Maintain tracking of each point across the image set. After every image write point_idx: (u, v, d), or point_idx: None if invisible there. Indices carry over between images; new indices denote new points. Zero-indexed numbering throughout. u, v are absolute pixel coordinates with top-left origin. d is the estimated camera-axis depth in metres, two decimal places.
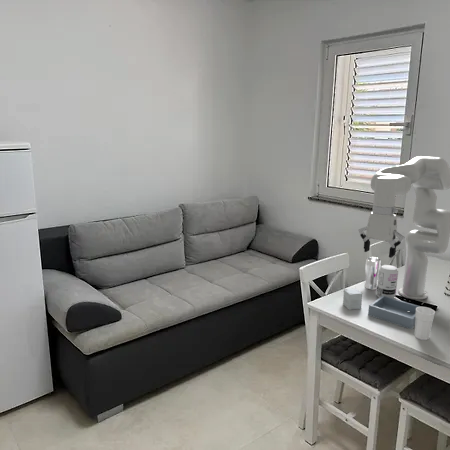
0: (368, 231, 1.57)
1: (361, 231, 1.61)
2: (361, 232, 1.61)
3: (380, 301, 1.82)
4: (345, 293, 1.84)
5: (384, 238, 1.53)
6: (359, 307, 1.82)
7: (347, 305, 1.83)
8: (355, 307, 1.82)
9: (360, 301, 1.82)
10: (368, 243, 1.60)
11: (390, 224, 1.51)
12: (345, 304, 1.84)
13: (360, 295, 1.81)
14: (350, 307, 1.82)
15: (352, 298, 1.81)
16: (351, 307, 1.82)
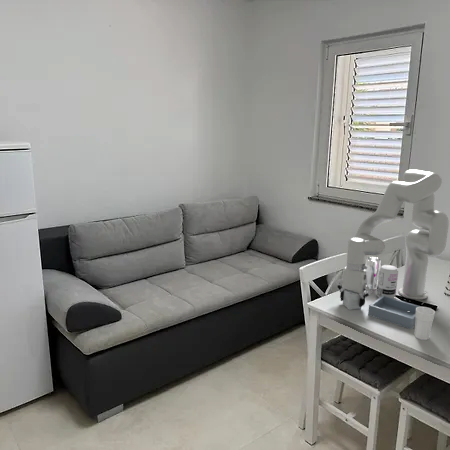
0: (343, 283, 1.84)
1: (338, 283, 1.87)
2: (338, 284, 1.87)
3: (380, 301, 1.82)
4: (345, 293, 1.84)
5: (356, 290, 1.80)
6: (359, 307, 1.82)
7: (347, 305, 1.83)
8: (355, 307, 1.82)
9: None
10: None
11: (360, 279, 1.77)
12: (345, 304, 1.84)
13: None
14: (350, 307, 1.82)
15: (352, 298, 1.81)
16: (351, 307, 1.82)
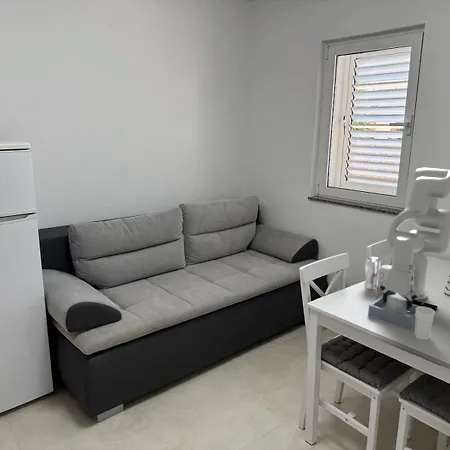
0: (387, 284, 1.74)
1: (380, 283, 1.77)
2: (380, 284, 1.77)
3: (380, 301, 1.82)
4: (389, 300, 1.75)
5: (402, 292, 1.70)
6: (404, 314, 1.73)
7: None
8: None
9: (405, 308, 1.73)
10: (387, 294, 1.77)
11: (408, 280, 1.67)
12: None
13: (405, 302, 1.72)
14: None
15: (397, 305, 1.72)
16: None
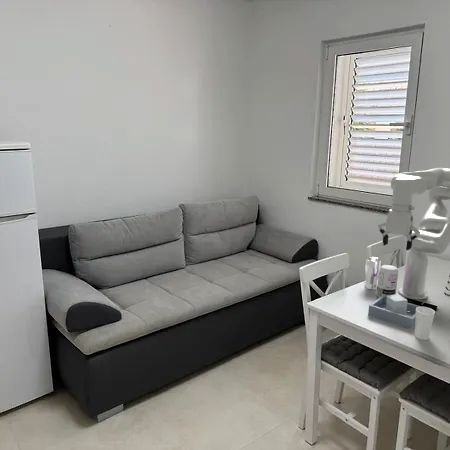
0: (387, 226, 1.75)
1: (380, 226, 1.79)
2: (380, 227, 1.79)
3: (380, 301, 1.82)
4: (389, 300, 1.75)
5: (402, 233, 1.72)
6: (404, 314, 1.73)
7: None
8: None
9: (405, 308, 1.73)
10: (387, 237, 1.79)
11: (407, 220, 1.69)
12: None
13: (405, 302, 1.72)
14: None
15: (397, 305, 1.71)
16: None
